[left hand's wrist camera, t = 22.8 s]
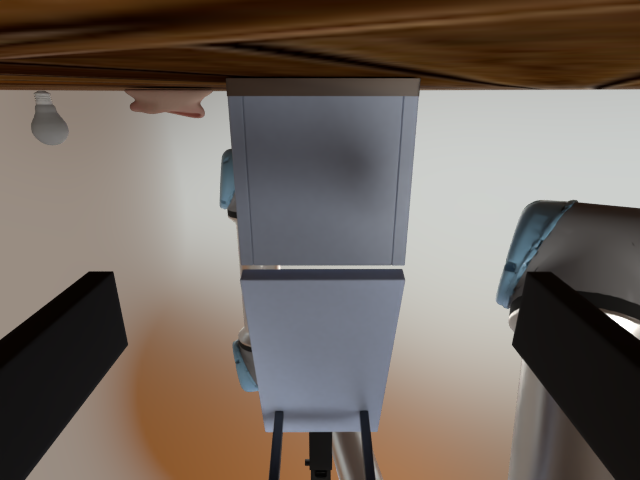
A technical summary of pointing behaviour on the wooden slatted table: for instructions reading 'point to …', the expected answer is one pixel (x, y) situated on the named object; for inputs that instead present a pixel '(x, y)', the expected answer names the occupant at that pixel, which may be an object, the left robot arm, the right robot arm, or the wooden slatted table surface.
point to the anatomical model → (169, 101)
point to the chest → (322, 168)
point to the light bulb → (48, 121)
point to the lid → (322, 349)
